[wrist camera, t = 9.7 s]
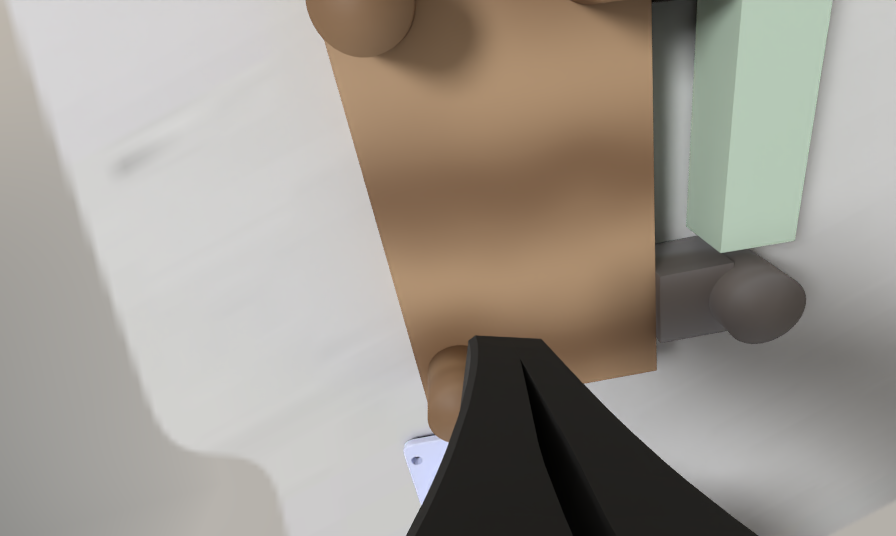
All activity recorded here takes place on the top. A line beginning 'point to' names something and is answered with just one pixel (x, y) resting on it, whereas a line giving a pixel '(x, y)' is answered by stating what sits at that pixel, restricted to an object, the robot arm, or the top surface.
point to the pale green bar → (753, 117)
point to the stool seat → (529, 187)
